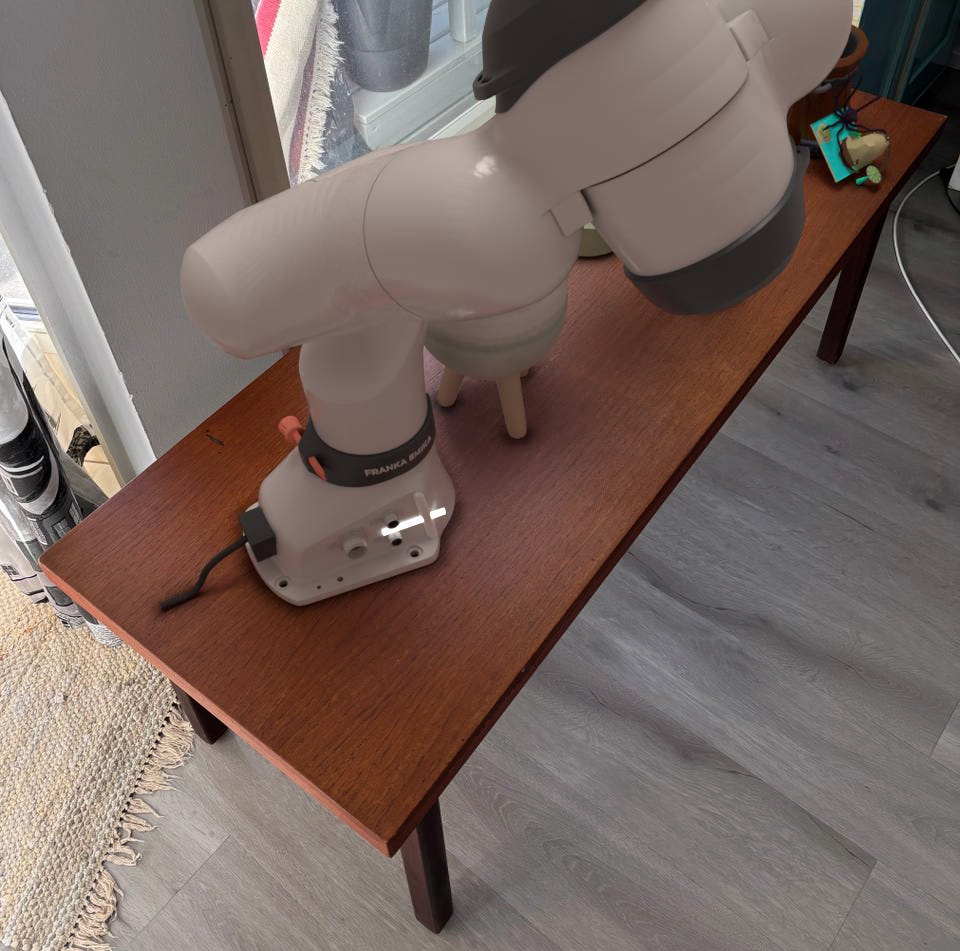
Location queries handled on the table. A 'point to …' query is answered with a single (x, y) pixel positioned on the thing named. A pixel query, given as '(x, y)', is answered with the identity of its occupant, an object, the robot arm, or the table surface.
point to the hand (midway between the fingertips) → (627, 148)
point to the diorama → (850, 141)
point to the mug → (826, 94)
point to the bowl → (593, 242)
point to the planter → (498, 351)
